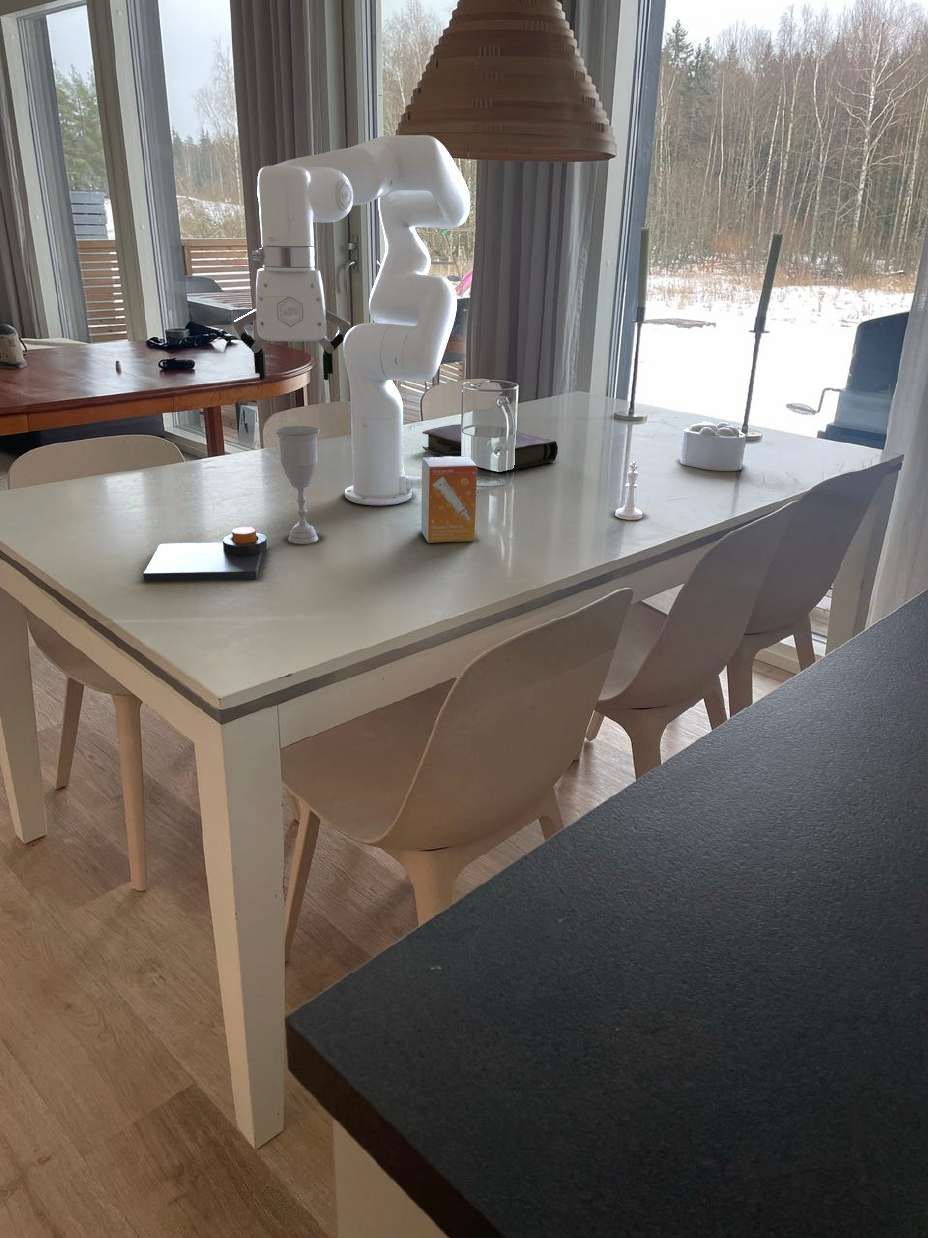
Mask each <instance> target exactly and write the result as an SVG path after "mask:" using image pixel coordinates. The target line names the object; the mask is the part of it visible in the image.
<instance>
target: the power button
mask: <svg viewBox="0 0 928 1238" xmlns="http://www.w3.org/2000/svg"><path fill="white" fill-rule="evenodd" d="M256 533H257V529H256V528H254V527H252V526H240V527H239V526H238V527H236V528H233V529H232V531H231V534H232V536H233V542H235V543H250V542H255V541H257V538H256Z"/></svg>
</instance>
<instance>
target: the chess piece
mask: <svg viewBox="0 0 928 1238" xmlns="http://www.w3.org/2000/svg"><path fill="white" fill-rule="evenodd" d="M636 463H637V462H636V461H632V462H631V463H630V464H629V467H630V468H631V470H629V471H627V473H626V476H627V480H628V483H625V487H626V488H627V489H628V491H627V495H626V500H625V504H624V505H623V506H622V507H620V508H617V509H616V510H615V513H614V515H615V517H616V518H619V519H622V520H627V521H636V520H641V519H642V518H643V512H642V511H641V510H640V509H638V508H637V507H636V506H635V489H637V488H638V486H639V485H638V484H637V483H636V481H637V478H638V476H639V472H638V471H636V470H637V469H638V468H639V467H638V465H636Z"/></svg>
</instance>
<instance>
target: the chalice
mask: <svg viewBox="0 0 928 1238" xmlns="http://www.w3.org/2000/svg"><path fill="white" fill-rule="evenodd" d="M275 433H276V435H277V437H278V440H279V457H280V458H279V459H280V465H281V467H282V469H283V471H284V474H285V477H286V478H287V479H288V481H289V483H290V485H291V487H292V488H295V489H297V493H298V494H297V498H296V501H297V503H298V508H297V510H296V513H297V514H298V516H299V518H298V519H299V521H298V522H297V523H296V524H294V525H293V526H292V528H291V531H290V533H289V537H288V538H287V540H288V541H289V543H292V544H298V545H299V544H300V545H304V544H312V543H315V542H317V541H318V540H319V536H318V535H317V531H316V530H315V527H314V526H313V525H312V524H310V523H308V522H307V520H306V513H307V512H308V509H307V508H306V507H305V504H306V501H307V498H306V496H305V489H307V488H308V487H309V486H310V484H311V482H312V480H313V478H314V475H315V473H316V470H317V469H316V468H317V465H318V463H319V462H318V461H319V456H318V454H319V453H318V436H319V433H320V429H319V428H318V427H315V426H310V425H290V426H289V425H288V426H284V427H279V428H277V429H276V430H275Z"/></svg>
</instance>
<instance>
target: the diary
mask: <svg viewBox="0 0 928 1238" xmlns="http://www.w3.org/2000/svg"><path fill="white" fill-rule="evenodd" d="M461 424H462V423H459V424H450V425H444V426H439V427H434V428H430V429H426V430H424V431H422V434H423V435H427V446H424V445H422V449H423V450H424V451H425V452H426V451H427V452H429V453H432V454H435V455H437V456H439V457H461ZM515 431H516V445H515V465H514V468H513V470H512V471H517V470H521V469H524V468H528V467H534V466H538V465H543V464H548V463H552V462H555V461H556V459H557V457H558V451H559V447H558V443H557V440H553V439H549V438H544V437H539V436H536V435H535V436H534V435H532V434H531V435H530V434H527V433H524V432H521V431H517V430H515Z"/></svg>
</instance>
